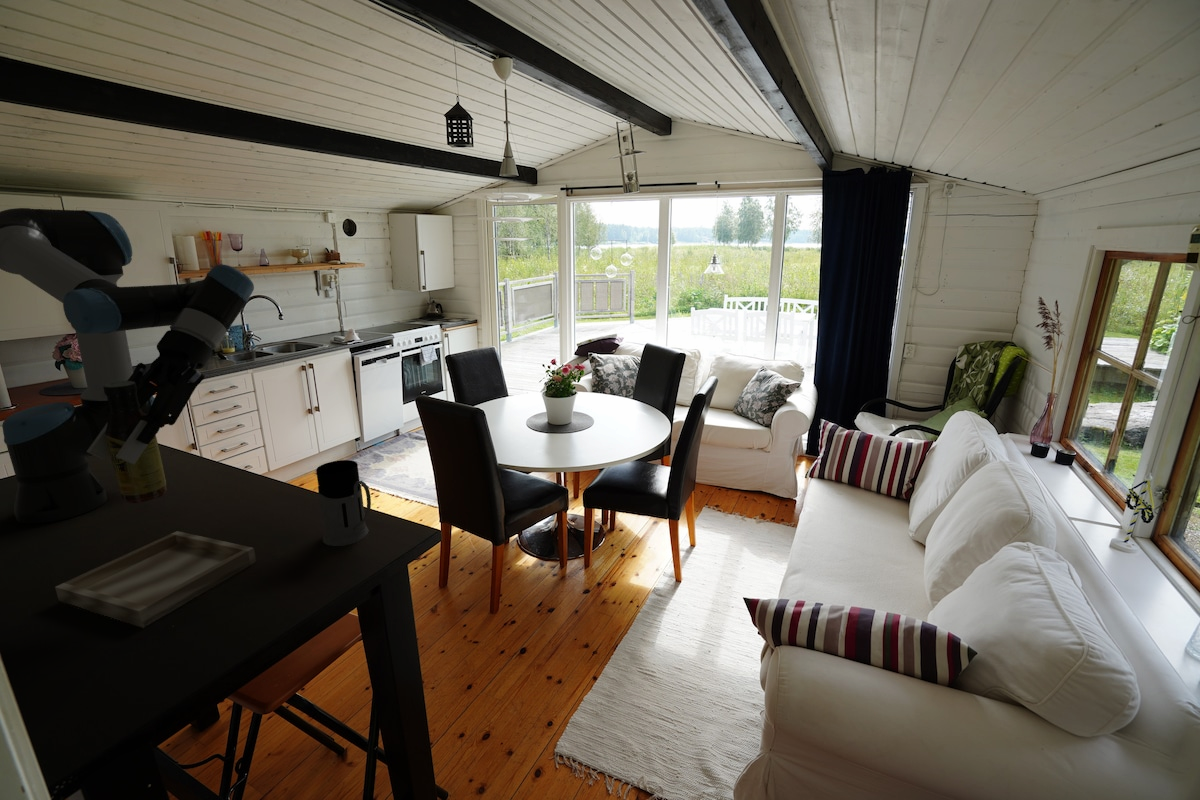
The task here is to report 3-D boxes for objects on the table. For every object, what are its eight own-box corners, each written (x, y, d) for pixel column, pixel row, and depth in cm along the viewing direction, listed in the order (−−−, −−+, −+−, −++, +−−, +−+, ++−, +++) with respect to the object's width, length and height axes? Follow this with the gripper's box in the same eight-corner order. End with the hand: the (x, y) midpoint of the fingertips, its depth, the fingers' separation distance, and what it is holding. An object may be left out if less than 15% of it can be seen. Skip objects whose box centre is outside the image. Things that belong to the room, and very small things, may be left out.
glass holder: (352, 521, 122) (344, 455, 118) (394, 539, 114) (386, 470, 110) (313, 538, 115) (303, 469, 111) (354, 559, 107) (345, 485, 103)
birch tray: (59, 602, 94) (54, 586, 93) (180, 544, 112) (177, 531, 111) (143, 627, 88) (139, 611, 87) (256, 562, 106) (253, 547, 105)
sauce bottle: (119, 497, 96) (89, 383, 90) (164, 486, 100) (138, 376, 95) (126, 509, 91) (95, 389, 86) (173, 496, 96) (146, 382, 90)
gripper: (247, 355, 101) (173, 474, 90) (171, 349, 107) (93, 460, 96) (214, 330, 95) (130, 454, 84) (135, 325, 101) (47, 441, 90)
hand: (110, 457), depth 90 cm, fingers closed on sauce bottle, 6 cm apart
